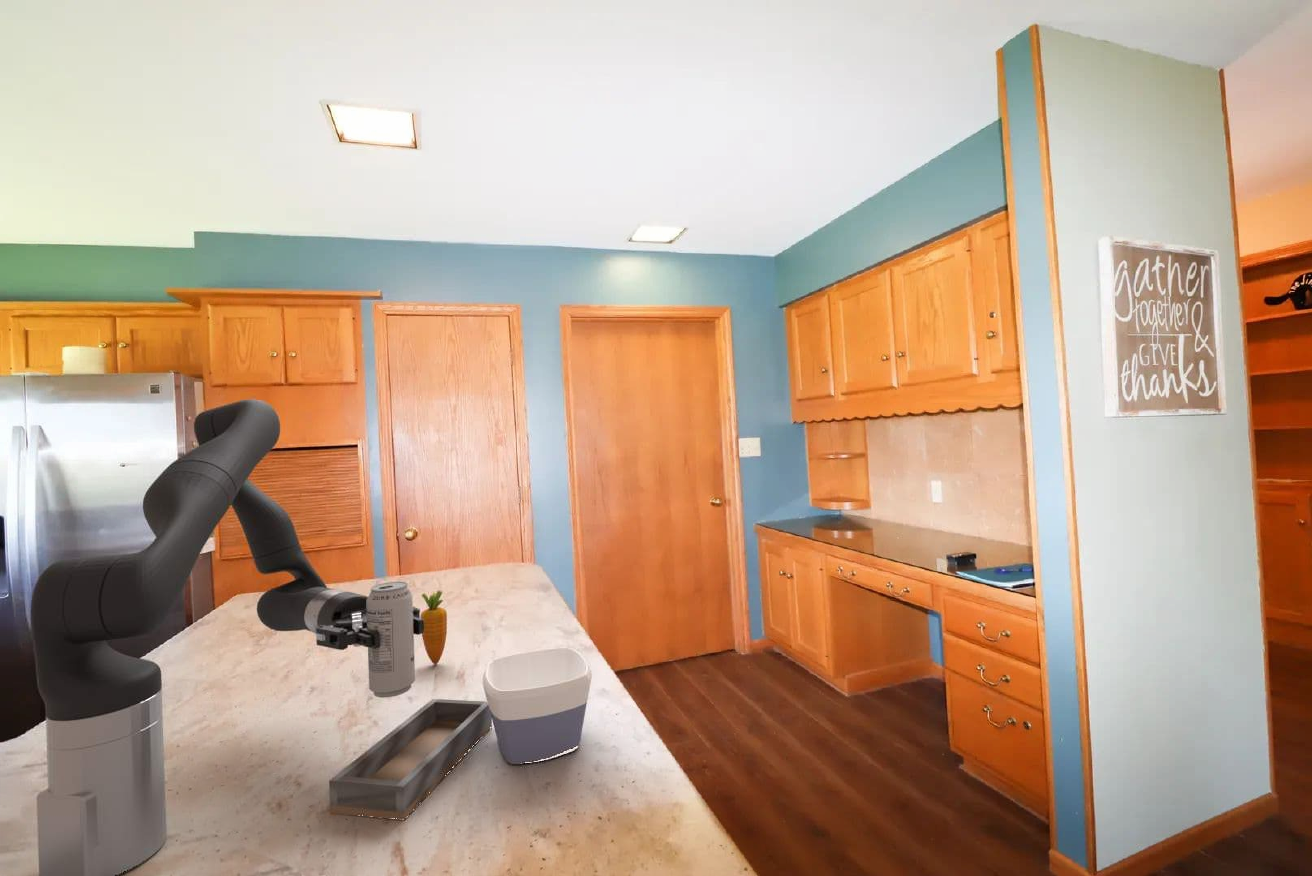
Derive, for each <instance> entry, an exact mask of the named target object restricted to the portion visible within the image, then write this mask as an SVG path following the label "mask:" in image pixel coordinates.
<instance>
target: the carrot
mask: <svg viewBox="0 0 1312 876" xmlns="http://www.w3.org/2000/svg"><path fill="white" fill-rule="evenodd" d="M442 595H443V591H442V590H440V589H438V590H437V591H436V593H435V592H433V594H430V596H429V597H428V596H427V594H425V593H422V594H421V596H422V598H423V600H424V601H425V603H426V604H427V606H428V608H426V609H425V610H423V611H422V612H420V613H421V614H420V618H421V619H424V632H423V633H422V634H421V637H422V641H423V646H424V649H425V652H426V654H427V657H428V658H429V660H430V661H431V663H432V664H433V665H435V664H436V665H438V663H439V662H440V660H441V658H442V656H443V652H444V650H445V645H446V640H447V634H448V633H447V632H448V631H447V627H448V615H447V610H446V609H445V608H443V607H442V606H440V605H441V603H443V602H444V600H443V599H440V598H441V596H442Z"/></svg>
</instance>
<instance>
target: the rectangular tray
mask: <svg viewBox="0 0 1312 876" xmlns="http://www.w3.org/2000/svg"><path fill="white" fill-rule="evenodd" d="M490 727H492V728H493V721H492V717H491V713H490V709H489V706H488V702H487V701H485V700H484V701H479V700H461V699H460V700H459V699H445V698H444V699H443V698H442V699H441V698H440V699H439V698H432V699H431V700H429V701H427V702H426V704H424V705H423V706H422V707H421V708H419V709H418V710H416V712H414V713H413V714H411V715H410V716H409V717H408V718H406V719H405V720H404V721H403V722H401V723H400V724H398V726H396V727H395V728H394V729H393V730H391V731H390V732H388V733H387V734H386V735H385V736H384V737H383V738H381V739H380V740H378V741H377V742H376V743H375V744H374V745H372V746H370V748H369V749H368V750H366V751H365V752H364V753H362V754H361V755H360V756H358V757H357V758H356V759H354V761H352V762H351V763H350V764H348V765H347V766H345V768H344V769H341V770H340V772H338V773H336V775H334V776H333V777H331V779H329V781H328V783H329V809H330V810H329V812H330V814H332V815H339V816H340V815H342V816H350V815H360V816H359V817H361V816H362V815H363V816H373V817H381V818H380V819H382V818H395V819H396V818H397V819H405V818H406V817H407V816H408V815H409V814H410V813H411V812H412V811H413V809H415V807H416V806H417V805H419V803H420V802H421V801H422V800H423V799H424V798H425V797H426V796H427V795H428V794H429V792H431V791H432V789H434V788H435V787H436V785H438V786H439V784H440V783H441V782H442V781H443V780H444V779H445V778H446V777H445V775H447V773H448V772H449V771H450V770H451V769H452V767H453V766H455V765H456V763H457V762H458V761H459V760H460V759H461V758H462V757H463V756H464V754H465V753H467V752H468V750H469V749H471V748H472V746H473V745H475V743H476V742H477V741H478V740H479V739H480V738H481V737H482V736H484V734H485V733H486V732H487V731H488V730H489V729H490ZM490 730H491V729H490ZM490 730H489V731H490ZM489 731H488V732H489ZM488 732H487V733H488ZM487 733H486V734H487ZM486 734H485V735H486ZM484 737H485V736H484ZM475 746H476V745H475ZM472 749H473V748H472ZM472 749H471V750H472ZM456 766H457V765H456ZM456 766H455V767H456ZM447 776H448V775H447ZM444 777H445V778H444ZM443 778H444V779H443ZM442 779H443V780H442ZM441 780H442V781H441ZM440 781H441V782H440ZM439 782H440V783H439ZM438 783H439V784H438ZM436 788H437V787H436ZM436 788H435V789H436ZM435 789H434V790H435ZM432 792H433V791H432ZM432 792H431V793H432ZM429 795H430V794H429ZM429 795H428V796H429ZM428 796H427V797H428ZM427 797H426V798H427ZM426 798H425V799H426ZM425 799H424V800H425ZM424 800H423V801H424ZM419 806H420V805H419ZM415 810H416V809H415ZM413 812H414V811H413ZM413 812H412V813H413ZM412 813H411V814H412ZM411 814H410V815H411ZM410 815H409V816H410ZM409 816H408V817H409ZM408 817H407V818H408Z"/></svg>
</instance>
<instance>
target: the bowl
mask: <svg viewBox="0 0 1312 876" xmlns="http://www.w3.org/2000/svg"><path fill="white" fill-rule="evenodd" d="M587 661H588V660H586V658H585V657H583V655H582V654H581V653H579V652H578V651H577V650H575V649H573V648H571V647H554V648H553V647H552V648H543V649H537V650H528V651H523V652H519V653H513V654H509V655H504V656H501V657H497V658H494V659H492V660H490V662H489V663H488V664H487V665H486V667H485V669H484V672H483V676H482V687H483V690H484V694H485V695H484V696H485V697H486V702H488V706H489V709H490V713H491V717H492V726H493V727H494V728H493V729H494V731H495V736H496V740H497V744H498V748H499V751H500V754H501V755H502V757H503V759H504V760H505V761H506V763H508V762H509V763H508V764H510V763H511V764H510V765H512V764H521V763H525V762H534V761H538V760H541V759H546V758H550V757H552V756H555V755H557V754H560V753H563V752H564V751H567V750H569V749H573V748H574V747H576V746H578V745H579V746H580V744H579V743H581V740H582V739H581V738H582V734H583V733H582V732H583V726H584V721H585V716H586V711H587V705H588V699H589V693H590V688H591V682H592V677H593V674H592V670H591V668H590V665H589V663H588V662H587Z"/></svg>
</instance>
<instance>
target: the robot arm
mask: <svg viewBox="0 0 1312 876" xmlns="http://www.w3.org/2000/svg"><path fill="white" fill-rule="evenodd" d="M193 431H194V435H195V439H196V441H197V444H198V446H197V447H195V448H193V449H192V450H190V451H188V452H186V453H185V454H183V455H181V456H180V457H179V458H177V459H175V460H174V461H173V462H172V463H170V464H169V465H168V466H167V467H166V468H164V470H163V471H162V472H161V473H160V474H159V476H157V478H156V479H155V480H154V481H153V482H152V484H151V485H150V486H149V488H147V490H146V492H145V494H144V496H143V500H142V510H143V511H142V512H143V515H144V518H145V520H146V523H147V525H148V526H149V528H150V530H151V531H152V533H153V534H154V536H155V538H154V540H153V541H152V542H151V543H150V545H149V546H147V547H146V548H144V549H141V550H140V551H137V552H133V553H122V554H121V553H119V554H107V555H96V556H95V555H94V556H84V557H83V556H82V557H71V558H65V559H62V560H59V561H58V560H57V561H56V562H53V563H52V564H51V565H49V566H48V567H47V568H45V570H43V572H42V573H41V574H40V576H39V577H38V579H37V581H36V583H35V586H34V587H33V590H32V595H31V600H30V601H31V602H30V627H31V638H32V644H33V645H32V646H33V653H34V661H35V673H36V684H37V690H38V692H39V695H40V697H41V699H42V701H43V702H44V706H45V725H46V726H45V729H46V730H45V731H46V761H47V762H46V765H47V766H46V767H47V769H46V770H47V789H44V790H42V791H40V792H38V794H37V796H36V816H37V817H36V819H37V849H38V850H37V852H38V854H37V855H38V856H37V857H38V876H115V875H118V874H120V875H122V874H124V873H125V872H124V871H126V870H128V871H130V870H131V869H134V868H135V867H137V866H139V865H140V864H143V863H144V862H146V860H148V859H149V858H151V857H152V856H153V855H154V854H156V853H157V852H158V851H159V850H160V849H161V848H162V847H163V846H164V844H165V842H166V840H167V838H168V837H167V835H168V834H167V833H168V831H167V808H166V807H167V804H166V803H167V802H166V778H165V777H166V775H165V748H164V746H165V745H164V721H163V719H164V718H163V687H162V685H163V684H162V669H161V667H160V666H159V665H158V663H156V662H154V661H151V660H148V659H144V658H138V657H133V656H131V655H127V654H123V653H121V652H119V651H117V650H115V649H114V648H112V647H111V646H110V645H109V644H108V643H107V641H110V640H111V641H113V640H122V639H129V638H136V637H139V636H140V637H141V636H144V635H147V634H150V633H153V632H155V631H156V630H158V629H159V628H160V627H161V626H162V625H163V624H164V623H165V622H166V621H167V619H168V618H169V616H170V615H171V613H172V612H173V610H174V609H175V607H176V605H177V603H178V600H179V599H180V597H181V595H182V593H183V591H184V588H185V586H186V584H187V581H188V580H189V577H190V575H191V573H192V571H193V569H194V566H195V564H196V563H197V560H198V558H199V556H200V554H201V552H202V550H203V548H204V547H205V545H206V544H207V541H208V540H209V539H210V537H211V536H212V533H213V532H214V530H216V528H217V526H218V524H219V523H220V521H222V519H223V517H224V516H225V514H226V513H227V512H228V510H229V508H230V507H232V509H233V511H234V513H235V514H236V517H237V519H238V521H239V524H240V526H241V527H242V531H243V532H244V536H245V539H246V541H247V544H248V547H249V550H250V553H251V556H252V559H253V562H254V565H255V568H256V570H257V571H258V572H259V573H260V574H262V575H270V574H276V573H277V574H278V573H283V572H287V573H288V574H290V575H291V576H292V577H293V578H294V579H293V580H291V581H289V582H286V583H284V584H281V585H279V586H276V587H273V588H271V589H269V590H268V589H267V591H265V592H264V593H263V594H262V595H261V596H260V598H259V599H258V602H257V604H256V613H257V617H258V619H259V620H260V622H261V623H262V624H263V625H264V626H265V627H267V628H268V629H270V630H272V631H277V632H295V631H296V632H298V631H305V630H306V631H309V632H312V633H314V634H315V635H316V636H315V637H316V638H315V639H316V645H317V646H320V647H323V648H324V647H325V648H328V649H333V650H338V651H343V650H346V649H348V647H349V646H353V647H354V648H355V647H356V648H357V647H361V646H362V647H364V648H368V647H369V648H372V649H376V648H379V647H380V633H379V632H377V631H374V630H371V629H368V628H367V607H366V600H367V598H368V596H367V595H363V594H359V593H355V592H353V591H352V592H351V591H348V590H343V589H334V588H329V587H327V585H326V583H325V582H324V580H323V579H322V578H321V576H320V575H319V574H318V572H316V570H315V568H314V567H313V566H312V564H311V562H309V560H308V558H307V557H306V555H305V553H304V551H303V550H302V546H301V544H300V541H299V538H298V535H297V532H296V530H295V526H294V523H293V521H292V519H291V517H290V516H289V514H288V513H287V511H286V510H285V509H284V508H283V507H282V505H280V504H279V503H278V502H276V501H275V500H274V499H272V498H271V497H270V496H268V495H267V494H266V493H264V492H263V491H262V490H260V488H259V487H257V486H256V485H255V484H254V483H253V482H252V481H251V480H250V478H249V477H250V475H251V474H252V473H253V471H254V469H255V468H256V467H257V466H258V464H259V463H260V462H261V461H262V460H263V459H264V458H265V456H267V455H268V453H270V452H271V450H272V449H273V448H274V447H275V445H277V442H278V441H279V438H280V434H281V423H280V418H279V415H278V413H277V412H276V410H275V409H274V408H273V407H272V406H271V405H270V404H269V403H267V402H266V401H264V400H261V399H256V398H255V399H254V398H252V399H251V398H250V399H241V400H238V401H235V402H232V403H229V404H224V405H220V406H216V407H214V408H210V409H206V410H204V411H201V412H200V413H199V414H197V415H196V416H195V419H194V422H193ZM420 613H421V609H420V608H418V607H415V606H413V630H414V635H418V636H420V635H422V633H423V632H424V619H421V614H420ZM143 861H144V862H143ZM136 865H137V866H136ZM134 866H135V867H134ZM133 867H134V868H133ZM129 869H130V870H129ZM123 872H124V873H123ZM126 872H127V871H126ZM121 873H122V874H121ZM118 876H119V875H118Z"/></svg>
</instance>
